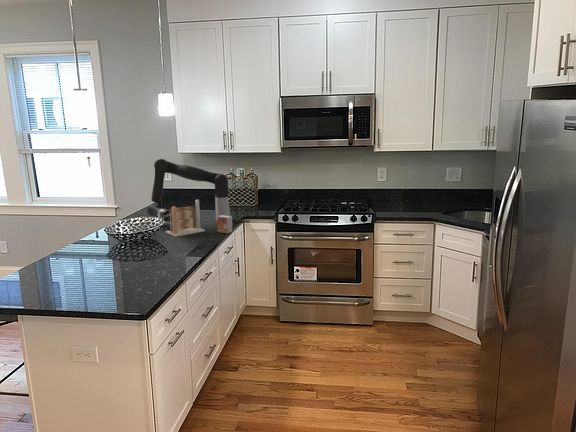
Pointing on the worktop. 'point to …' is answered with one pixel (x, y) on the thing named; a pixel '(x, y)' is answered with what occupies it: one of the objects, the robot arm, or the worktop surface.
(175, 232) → the gate frame
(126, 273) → the worktop surface
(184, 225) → the panel
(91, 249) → the worktop surface
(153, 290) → the worktop surface
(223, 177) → the robot arm
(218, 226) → the small box
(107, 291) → the worktop surface
